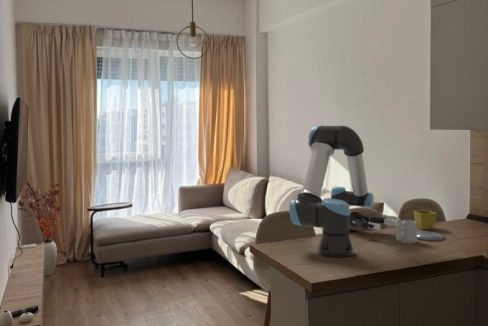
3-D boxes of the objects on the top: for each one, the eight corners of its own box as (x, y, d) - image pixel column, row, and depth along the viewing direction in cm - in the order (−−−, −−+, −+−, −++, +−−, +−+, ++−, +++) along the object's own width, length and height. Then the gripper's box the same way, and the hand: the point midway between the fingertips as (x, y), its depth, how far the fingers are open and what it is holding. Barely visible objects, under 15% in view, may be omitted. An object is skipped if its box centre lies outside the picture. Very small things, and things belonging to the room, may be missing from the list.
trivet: (415, 240, 222) (415, 238, 222) (407, 233, 237) (407, 231, 237) (447, 241, 221) (448, 238, 221) (437, 233, 236) (437, 231, 236)
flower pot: (412, 226, 251) (413, 210, 251) (428, 226, 252) (428, 210, 252) (420, 230, 243) (421, 213, 242) (436, 230, 244) (437, 213, 243)
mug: (420, 242, 219) (421, 217, 218) (400, 245, 214) (401, 220, 213) (409, 238, 226) (410, 214, 225) (389, 241, 222) (390, 216, 220)
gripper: (366, 222, 251) (401, 228, 235) (337, 229, 236) (372, 236, 219) (366, 208, 251) (402, 214, 235) (337, 214, 235) (373, 221, 219)
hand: (388, 225), depth 227 cm, fingers open, 13 cm apart
